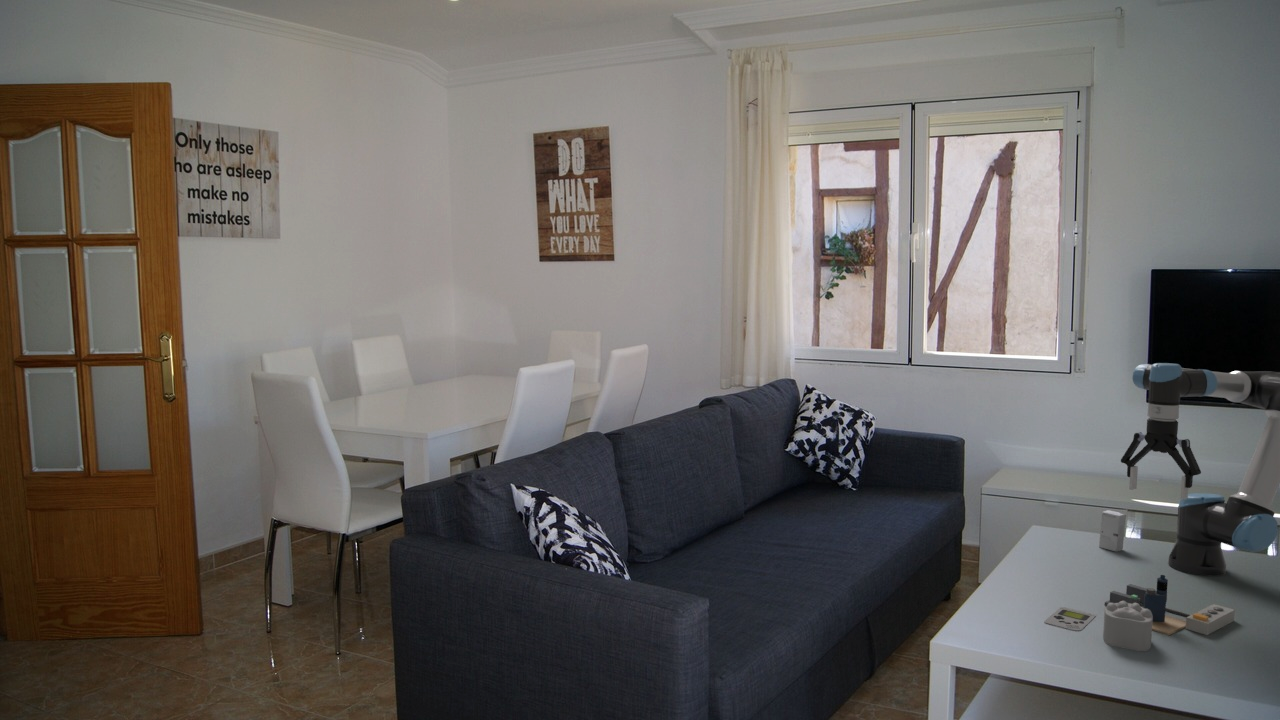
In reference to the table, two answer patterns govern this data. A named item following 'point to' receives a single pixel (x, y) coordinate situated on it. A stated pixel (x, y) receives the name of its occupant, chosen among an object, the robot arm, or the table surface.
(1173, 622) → the mat
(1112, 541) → the skincare box
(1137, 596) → the frame
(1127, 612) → the lumpy-topped squat cylinder
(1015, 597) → the table surface
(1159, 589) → the vaping device
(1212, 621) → the power strip
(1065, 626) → the handheld gaming device
